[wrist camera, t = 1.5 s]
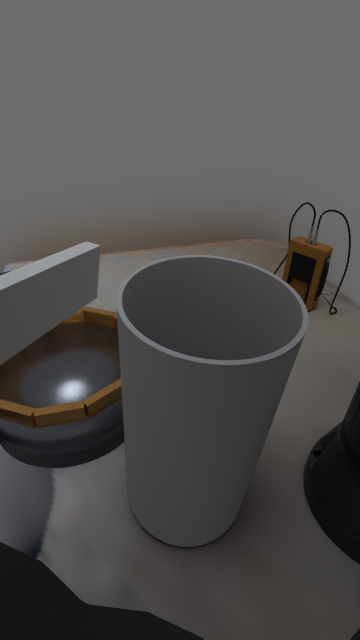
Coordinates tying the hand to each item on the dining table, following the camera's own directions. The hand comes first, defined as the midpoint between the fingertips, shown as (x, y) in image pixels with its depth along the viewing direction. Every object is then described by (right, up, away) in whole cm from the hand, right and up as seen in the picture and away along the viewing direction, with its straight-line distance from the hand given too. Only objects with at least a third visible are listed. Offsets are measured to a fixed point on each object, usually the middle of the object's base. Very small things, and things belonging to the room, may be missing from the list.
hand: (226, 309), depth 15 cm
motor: (-16, -12, +33) cm, 39 cm away
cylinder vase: (-2, -19, +22) cm, 30 cm away
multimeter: (+25, +4, +56) cm, 62 cm away
